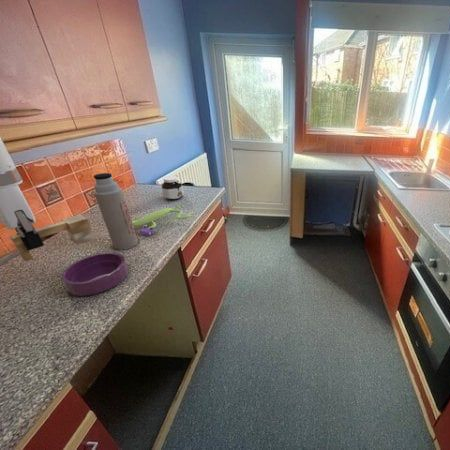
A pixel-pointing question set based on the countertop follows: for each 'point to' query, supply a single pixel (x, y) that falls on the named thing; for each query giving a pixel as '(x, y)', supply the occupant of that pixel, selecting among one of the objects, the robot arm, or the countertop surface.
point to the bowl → (95, 274)
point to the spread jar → (172, 188)
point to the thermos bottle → (114, 212)
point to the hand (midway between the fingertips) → (34, 245)
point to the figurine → (154, 217)
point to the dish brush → (74, 226)
